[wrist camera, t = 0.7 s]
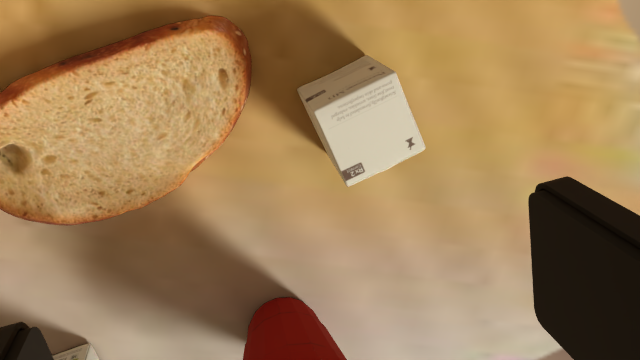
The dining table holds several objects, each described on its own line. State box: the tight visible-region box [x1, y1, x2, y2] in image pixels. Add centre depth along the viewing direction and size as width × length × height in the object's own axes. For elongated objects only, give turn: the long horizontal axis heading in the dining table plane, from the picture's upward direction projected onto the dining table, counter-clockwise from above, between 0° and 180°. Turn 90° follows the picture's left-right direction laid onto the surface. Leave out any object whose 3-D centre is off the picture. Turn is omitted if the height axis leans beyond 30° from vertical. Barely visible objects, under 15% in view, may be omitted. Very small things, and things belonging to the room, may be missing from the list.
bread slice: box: [0, 16, 251, 225], centre depth 39 cm, size 18×18×4 cm
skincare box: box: [297, 55, 425, 186], centre depth 40 cm, size 6×6×7 cm
